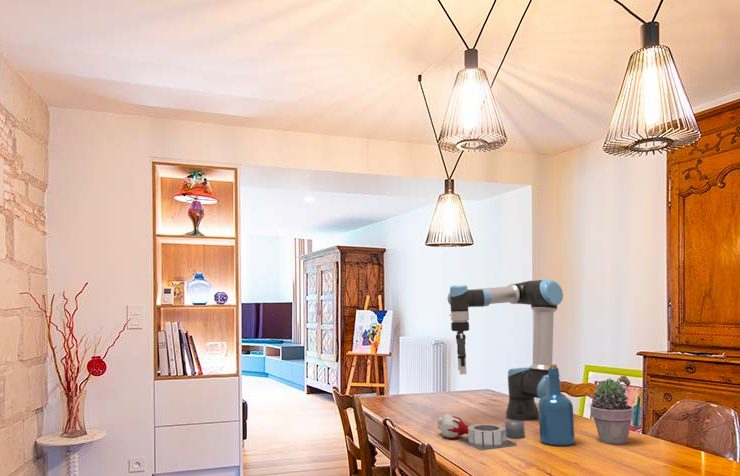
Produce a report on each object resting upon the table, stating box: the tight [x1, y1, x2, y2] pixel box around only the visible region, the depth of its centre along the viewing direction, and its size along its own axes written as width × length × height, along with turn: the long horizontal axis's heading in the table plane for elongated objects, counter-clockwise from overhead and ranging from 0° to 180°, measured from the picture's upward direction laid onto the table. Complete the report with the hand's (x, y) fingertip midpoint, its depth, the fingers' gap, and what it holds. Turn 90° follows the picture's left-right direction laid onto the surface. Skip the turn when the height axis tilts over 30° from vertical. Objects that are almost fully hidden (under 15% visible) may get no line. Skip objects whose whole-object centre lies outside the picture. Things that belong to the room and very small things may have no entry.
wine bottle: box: [538, 363, 576, 447], centre depth 223 cm, size 14×13×30 cm
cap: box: [504, 419, 526, 440], centre depth 232 cm, size 8×8×6 cm
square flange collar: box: [458, 423, 518, 451], centre depth 223 cm, size 16×16×6 cm
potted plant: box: [586, 375, 634, 445], centre depth 223 cm, size 18×20×25 cm
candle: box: [437, 412, 470, 440], centre depth 233 cm, size 9×11×15 cm
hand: (462, 372), depth 240 cm, fingers open, 13 cm apart
